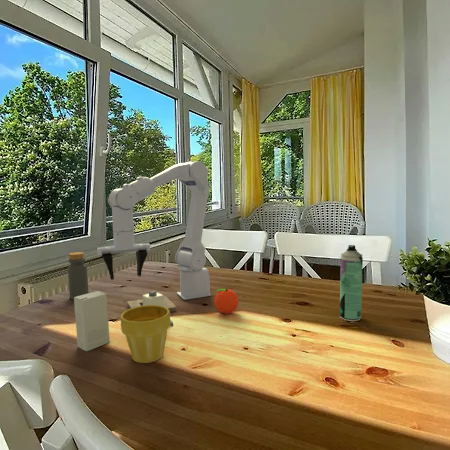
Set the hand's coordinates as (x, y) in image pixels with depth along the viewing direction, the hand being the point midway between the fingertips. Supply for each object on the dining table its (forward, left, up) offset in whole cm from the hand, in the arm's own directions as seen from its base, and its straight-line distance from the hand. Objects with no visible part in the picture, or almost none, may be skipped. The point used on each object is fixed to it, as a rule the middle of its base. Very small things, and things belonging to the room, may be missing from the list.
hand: (125, 277), depth 103 cm
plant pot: (+1, +30, -11) cm, 32 cm away
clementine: (-25, +14, -11) cm, 31 cm away
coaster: (-5, +12, -10) cm, 17 cm away
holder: (-7, 0, -10) cm, 13 cm away
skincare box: (+11, +19, -11) cm, 24 cm away
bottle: (+12, -22, -11) cm, 27 cm away
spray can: (-53, +34, -11) cm, 64 cm away
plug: (-5, +12, -10) cm, 16 cm away
